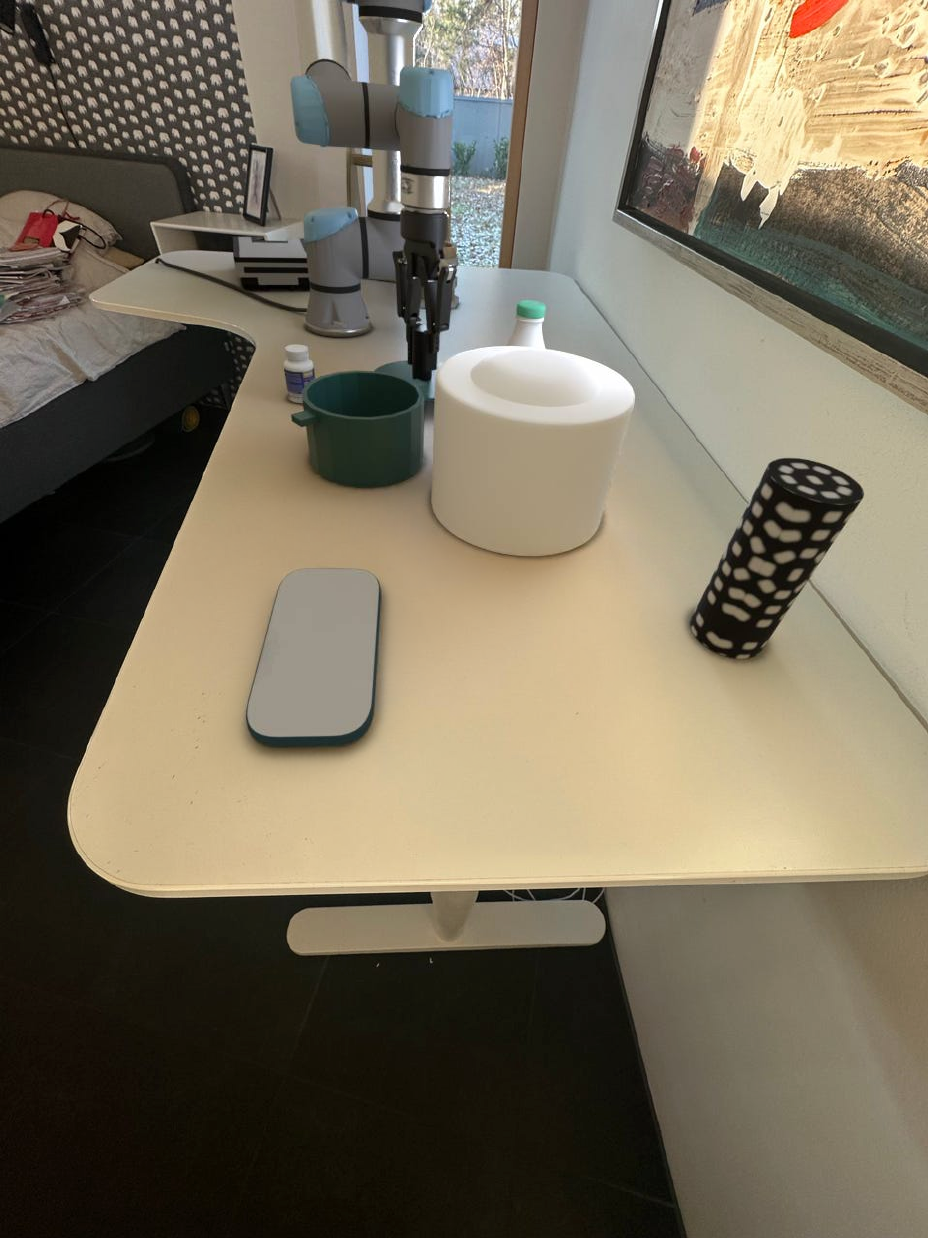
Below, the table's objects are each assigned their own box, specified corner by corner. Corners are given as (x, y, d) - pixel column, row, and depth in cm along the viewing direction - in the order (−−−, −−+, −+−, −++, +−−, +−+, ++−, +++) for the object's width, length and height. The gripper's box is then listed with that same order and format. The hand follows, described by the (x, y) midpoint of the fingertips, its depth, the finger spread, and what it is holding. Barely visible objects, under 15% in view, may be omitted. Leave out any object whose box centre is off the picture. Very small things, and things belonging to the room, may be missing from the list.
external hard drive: (372, 749, 49) (371, 737, 48) (240, 752, 48) (235, 739, 47) (382, 580, 66) (382, 568, 65) (285, 579, 65) (282, 566, 64)
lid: (351, 378, 102) (347, 322, 95) (425, 359, 112) (427, 307, 105) (416, 413, 93) (417, 353, 86) (491, 388, 103) (497, 334, 97)
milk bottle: (540, 421, 102) (560, 301, 88) (530, 438, 97) (550, 313, 83) (500, 413, 104) (514, 293, 90) (488, 429, 98) (501, 305, 84)
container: (437, 456, 89) (442, 322, 75) (588, 468, 90) (621, 337, 76) (424, 548, 71) (428, 394, 57) (613, 563, 72) (662, 413, 58)
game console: (306, 264, 174) (303, 233, 169) (318, 292, 153) (315, 257, 147) (237, 263, 169) (231, 231, 163) (240, 292, 147) (233, 256, 142)
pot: (273, 458, 85) (260, 390, 78) (389, 420, 98) (387, 359, 91) (339, 507, 77) (332, 436, 70) (456, 459, 89) (461, 395, 82)
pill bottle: (310, 405, 100) (304, 354, 94) (283, 401, 100) (275, 350, 94) (321, 395, 104) (316, 345, 98) (295, 390, 104) (288, 341, 98)
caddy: (449, 281, 172) (454, 157, 151) (440, 289, 164) (445, 159, 144) (361, 268, 175) (355, 145, 155) (348, 276, 168) (340, 147, 147)
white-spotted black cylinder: (679, 608, 66) (751, 456, 53) (743, 607, 67) (830, 458, 53) (706, 659, 61) (795, 504, 47) (776, 658, 61) (884, 505, 48)
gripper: (371, 200, 86) (377, 356, 102) (443, 219, 78) (437, 385, 94) (408, 199, 90) (408, 349, 107) (479, 216, 82) (468, 376, 98)
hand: (422, 366), depth 100 cm, fingers closed on lid, 4 cm apart
